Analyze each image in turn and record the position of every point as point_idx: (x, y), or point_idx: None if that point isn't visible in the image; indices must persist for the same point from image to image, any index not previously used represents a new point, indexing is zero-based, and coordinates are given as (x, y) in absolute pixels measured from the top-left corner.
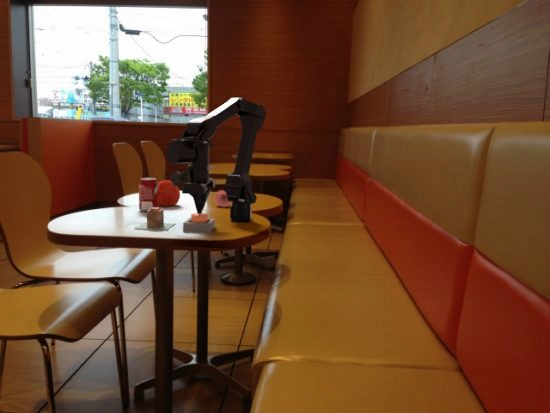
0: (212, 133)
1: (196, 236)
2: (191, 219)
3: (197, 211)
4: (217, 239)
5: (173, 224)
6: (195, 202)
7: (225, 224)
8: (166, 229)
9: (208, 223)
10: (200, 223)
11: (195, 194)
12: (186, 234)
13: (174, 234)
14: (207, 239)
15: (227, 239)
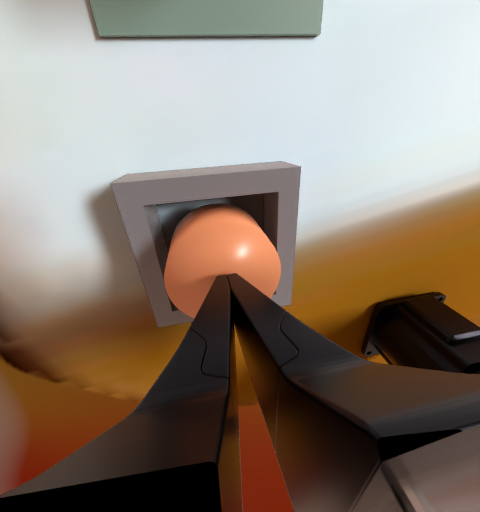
0: None
1: (48, 279)
2: (186, 225)
3: (212, 286)
4: (51, 360)
5: (291, 28)
6: (184, 347)
7: (328, 300)
8: (97, 27)
9: (166, 319)
10: (148, 287)
11: (157, 489)
12: (59, 220)
13: (10, 149)
14: (23, 335)
15: (74, 382)
